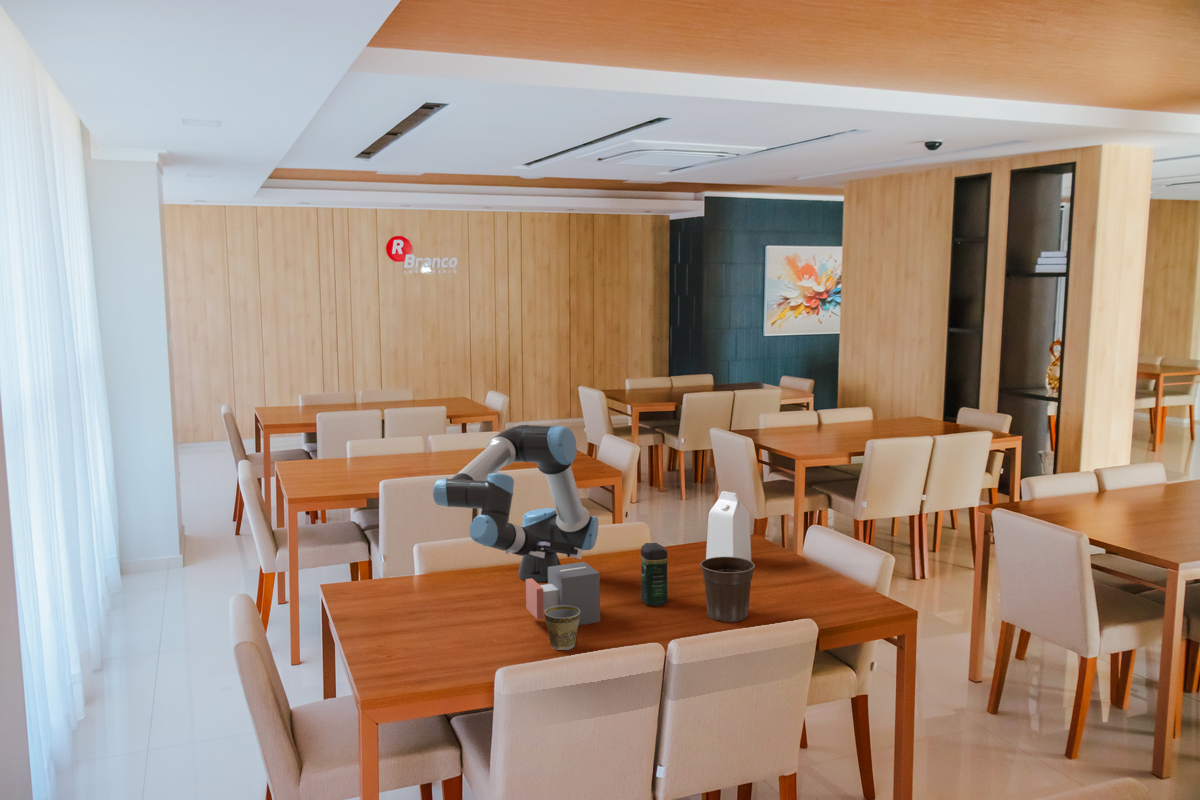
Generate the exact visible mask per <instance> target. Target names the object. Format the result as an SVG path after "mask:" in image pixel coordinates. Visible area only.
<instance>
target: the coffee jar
mask: <svg viewBox="0 0 1200 800" xmlns="http://www.w3.org/2000/svg"><path fill="white" fill-rule="evenodd" d="M668 562H669V561H668V550H667V548H666V547H665V546H664V545H661V544H659V543H657V542H646V543H644V544H643V545H642V546H641V547H640V568H641V570H640V599H641V601H642V602H643V603H644V605H646V606H654V607H659V606H660V607H661V606H662V605H666V604H668Z"/></svg>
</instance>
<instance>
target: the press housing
mask: <svg viewBox="0 0 1200 800" xmlns="http://www.w3.org/2000/svg"><path fill="white" fill-rule="evenodd" d="M600 573H601V572H599V571H598V570H596V569H595V568H593V567H592V566H591V565H589V564H588V563H586V562H585V561H581V562H574V563H567V564H561V565H558V566H551V567H548V581H547V584H553V585H555V586H556V587H557V588H558V589H559V605H569V606H574V607H577V608H578V609H580V619H579V624H578V626H584V625H589V624H595V623H601V589H600V588H601V581H600V579H601V578H600ZM583 624H584V625H583Z"/></svg>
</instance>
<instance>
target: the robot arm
mask: <svg viewBox="0 0 1200 800" xmlns="http://www.w3.org/2000/svg"><path fill="white" fill-rule="evenodd" d="M577 450H578V449H577V439H576V436H575V434H574V432H573V431H572V429H570V428H569V427H567V426H562V425H561V426H560V425H535V424H533V425H531V424H530V425H529V424H521V425H515V426H513V427H509V428H507V429H505V430H504V431H502V432H500V433H498V434H497V435H495V436H494V437H492V438H491V439H490V440H489V441H488V442H487V446H486V448H485V449H484V450H483V451H481V452H480V453H479V454H477V456H476V457H474V458H473V459H472V460H471V461H470V462H468V463H467V465H466V466H464V467H463V468H462V469H460V470H459V471H458V472H457V473H456V474H455V475H454V476H453V477H452V478H448V477H445V478H438V479H437V480H436V481H435V483H434V485H433V488H432V498H433V501H434V503H435V504H436V505H438V506H439V507H440V506H441V507H447V508H464V509H465V508H466V509H478V510H479V509H481V512H480V514H478V515H477V516H475V517H474V518H473V519H472V523H470V525H469V536H470V539H472V541H473V542H474V543H477V544H480V545H482V546H484V547H489V548H492V549H496V550H500V551H504V554H506V555H507V554H509V553H511V554H513V555H517V556H522V557H521V561H520V565H519V568H518V578H520V579H521V580H523V581H526V579H531V578H532V579H533V580H534V581H536V582H537V583H543V582H548V567H551V566H558V565H562V564H561V560H560V559H559V556H558V554H561V555H562V554H563V555H565V556H566V557H567V558H574V559H578V560H582V555H583V551H591V550H593V549H594V547H595V545H596V542H597V538H598V535H599V519H598V517H597V516H594V515H590V512H589V510H588V508H586V507H585V506H583V504H582V500H581V496H580V494H579V489H578V487H577V483H576V480H575V476H574V473H573V470H572V465H573V463H574V462H575V459H576V457H577V453H578V451H577ZM513 463H533V464H534V463H535V464H536V465H537V468H538V471H539V472H540V473H542V474H544V475H545V478H546V482H547V485H548V487H549V491H550V494H551V496H552V497H551V498H552V499H553V503H554V507H555V508H553V507H544V508H537V509H532V510H530V511H526V512H525V513H524V514H523V515H522V526H520V525H517V524H515V523H511V522H509V519H510V512H511V507H512V501H513V496H514V486H515V485H514V484H515V480H514V478H513V477H512V476H510V475H508V474H506V473H500V472H499V471H500V470H501V469H503V467H507V466H509V465H511V464H513ZM557 553H558V554H557Z"/></svg>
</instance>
